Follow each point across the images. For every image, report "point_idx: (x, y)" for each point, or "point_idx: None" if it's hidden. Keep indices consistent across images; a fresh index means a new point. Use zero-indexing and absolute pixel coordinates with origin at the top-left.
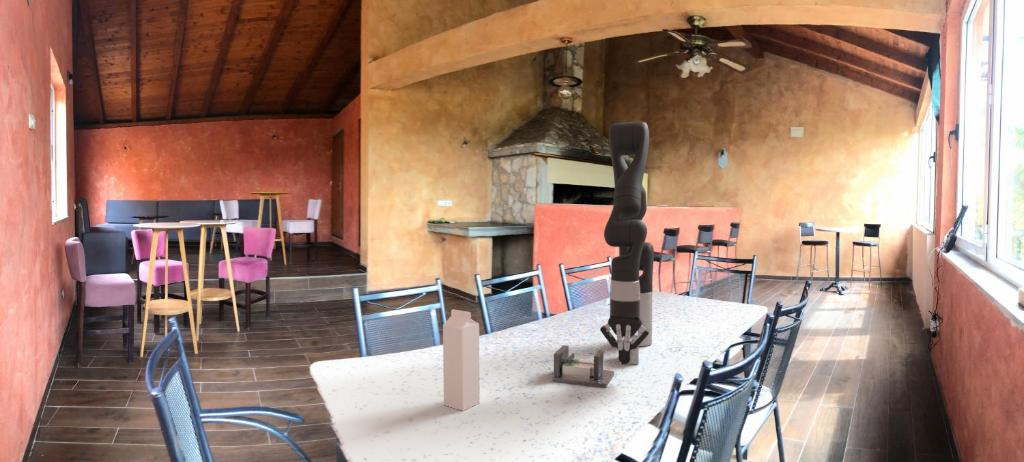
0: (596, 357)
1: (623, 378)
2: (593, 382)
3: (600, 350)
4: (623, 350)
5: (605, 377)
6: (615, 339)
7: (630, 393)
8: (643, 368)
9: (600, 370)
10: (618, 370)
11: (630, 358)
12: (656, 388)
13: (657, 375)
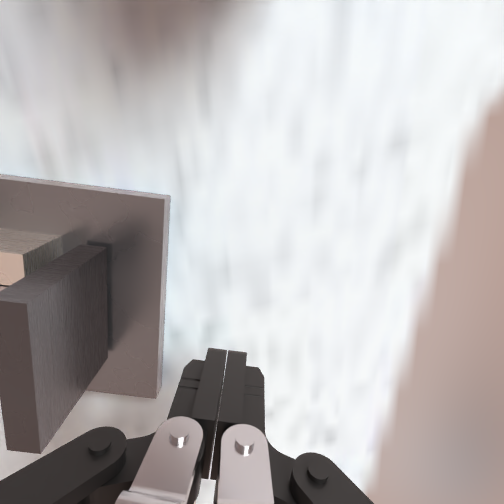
0: (30, 448)
1: (225, 243)
2: (97, 390)
3: (1, 303)
4: (204, 469)
5: (136, 315)
6: (84, 487)
7: (267, 417)
8: (343, 9)
9: (94, 327)
10: (183, 103)
11: (263, 385)
12: (383, 344)
13: (418, 145)
